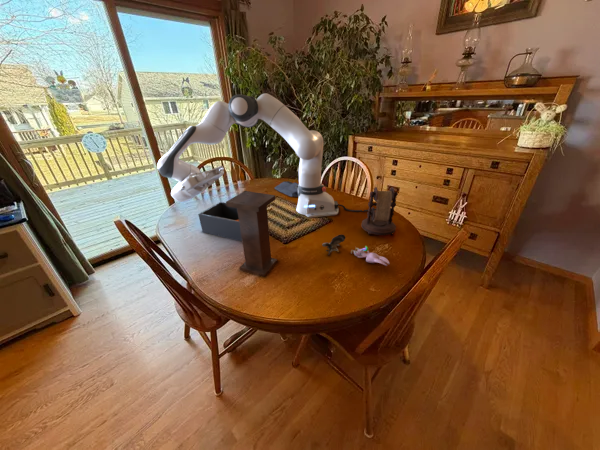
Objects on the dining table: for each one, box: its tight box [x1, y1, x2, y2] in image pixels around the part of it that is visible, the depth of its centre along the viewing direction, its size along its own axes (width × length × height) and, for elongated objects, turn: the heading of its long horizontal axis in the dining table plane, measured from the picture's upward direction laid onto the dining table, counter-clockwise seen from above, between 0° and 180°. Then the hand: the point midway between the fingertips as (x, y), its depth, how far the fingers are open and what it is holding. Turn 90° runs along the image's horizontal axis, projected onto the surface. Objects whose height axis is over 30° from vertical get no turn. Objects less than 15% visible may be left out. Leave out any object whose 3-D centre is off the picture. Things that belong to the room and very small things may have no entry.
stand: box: [225, 190, 278, 278], centre depth 79 cm, size 11×10×26 cm
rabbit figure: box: [350, 245, 390, 267], centre depth 85 cm, size 6×6×15 cm
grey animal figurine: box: [321, 233, 347, 256], centre depth 91 cm, size 8×7×9 cm
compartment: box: [197, 201, 242, 242], centre depth 106 cm, size 23×15×9 cm, turn 67°
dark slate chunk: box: [274, 180, 299, 198], centre depth 151 cm, size 15×22×5 cm
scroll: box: [360, 186, 399, 236], centre depth 102 cm, size 15×15×20 cm
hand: (214, 170), depth 97 cm, fingers open, 8 cm apart
